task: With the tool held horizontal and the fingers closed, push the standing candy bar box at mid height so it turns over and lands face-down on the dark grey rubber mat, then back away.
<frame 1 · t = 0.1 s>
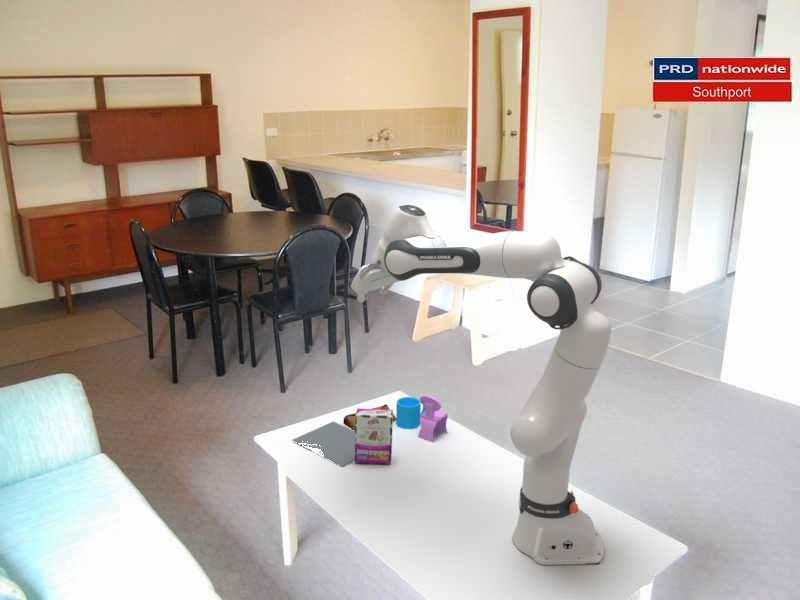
hand: (371, 296, 195), 54 cm above the table, tool tilted 30°, fingers open, 8 cm apart
candy bar box: (373, 460, 216), on the table, touching mat
mug: (412, 422, 241), on the table
sunglasses case: (371, 423, 242), on the table
toy chair: (432, 435, 233), on the table
mat: (337, 443, 226), on the table
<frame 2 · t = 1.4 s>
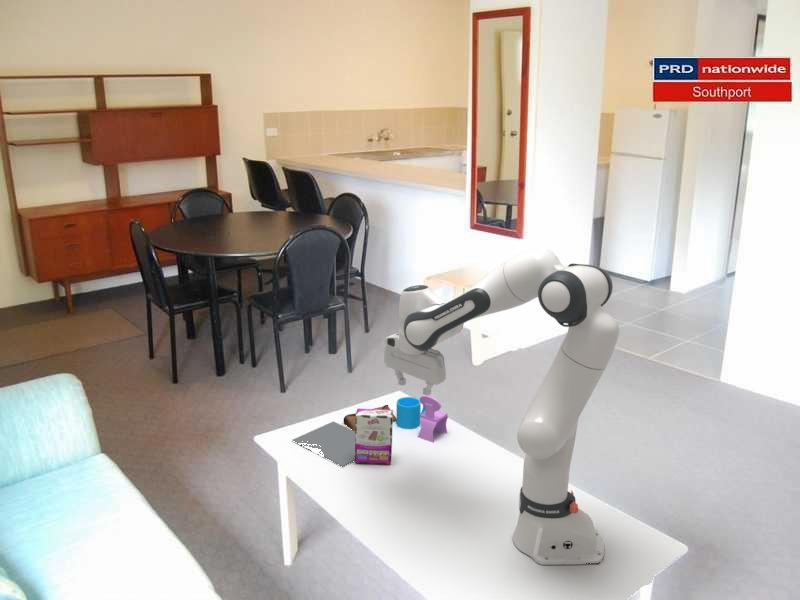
hand: (414, 389, 196), 29 cm above the table, tool pointing down, fingers open, 8 cm apart
nothing on the table moved.
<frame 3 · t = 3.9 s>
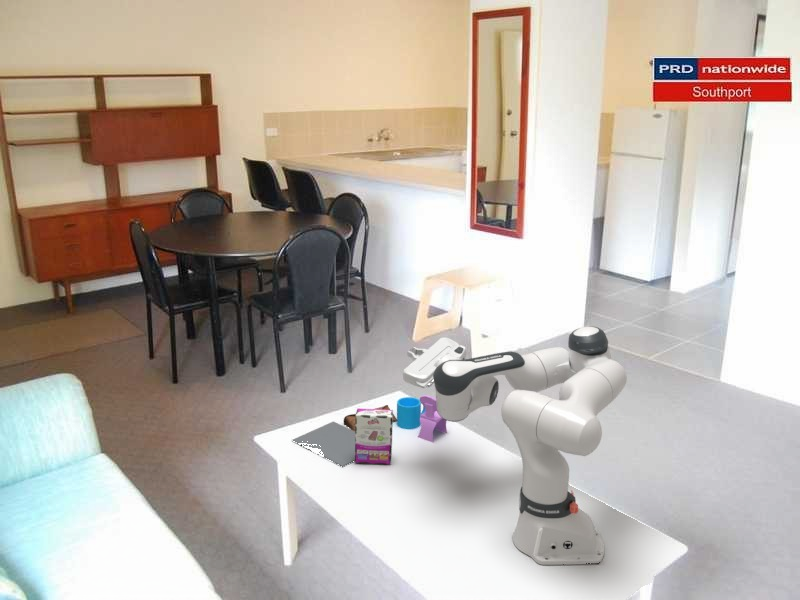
hand: (410, 351, 208), 35 cm above the table, tool horizontal, fingers closed
nothing on the table moved.
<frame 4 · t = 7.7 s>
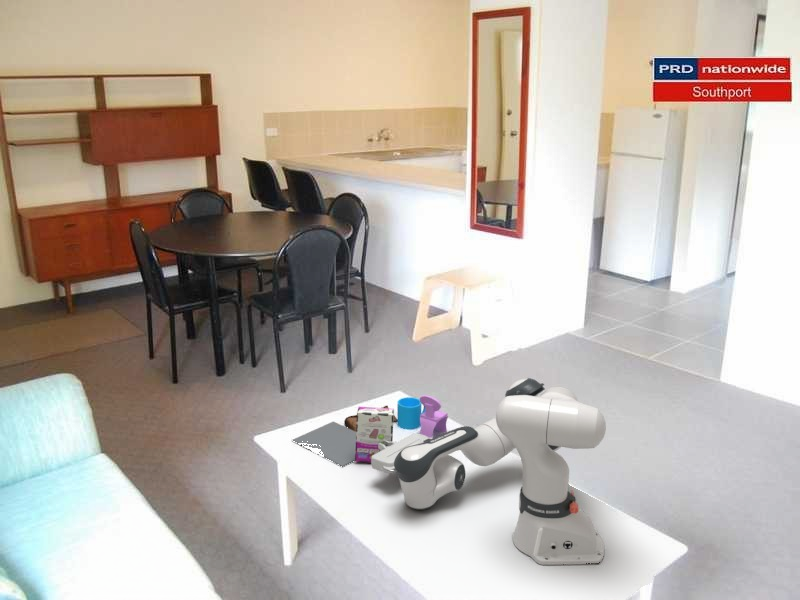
hand: (381, 444, 211), 8 cm above the table, tool horizontal, fingers closed
candy bar box: (373, 460, 216), on the table, touching gripper, mat
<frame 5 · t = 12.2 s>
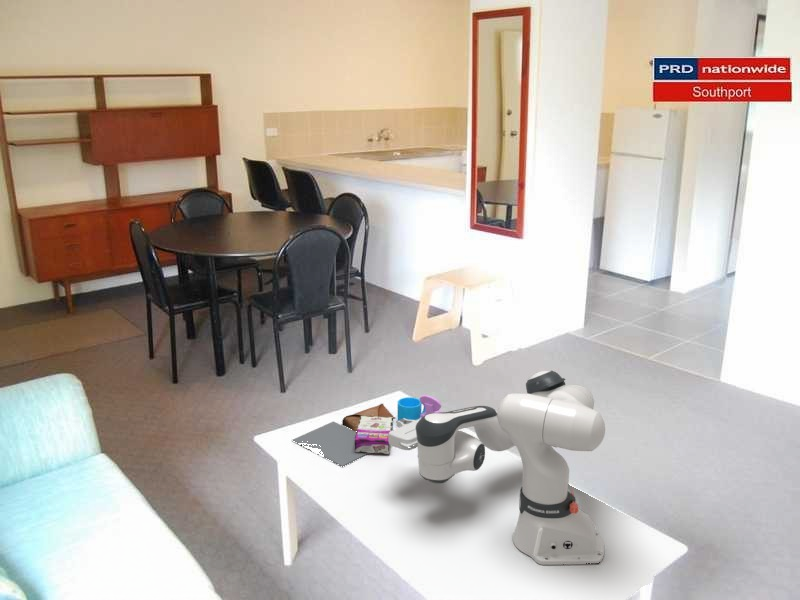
hand: (399, 422, 205), 17 cm above the table, tool horizontal, fingers closed
candy bar box: (371, 447, 218), point 3 cm above the table, touching mat
sunglasses case: (370, 423, 242), on the table
everything else where it was.
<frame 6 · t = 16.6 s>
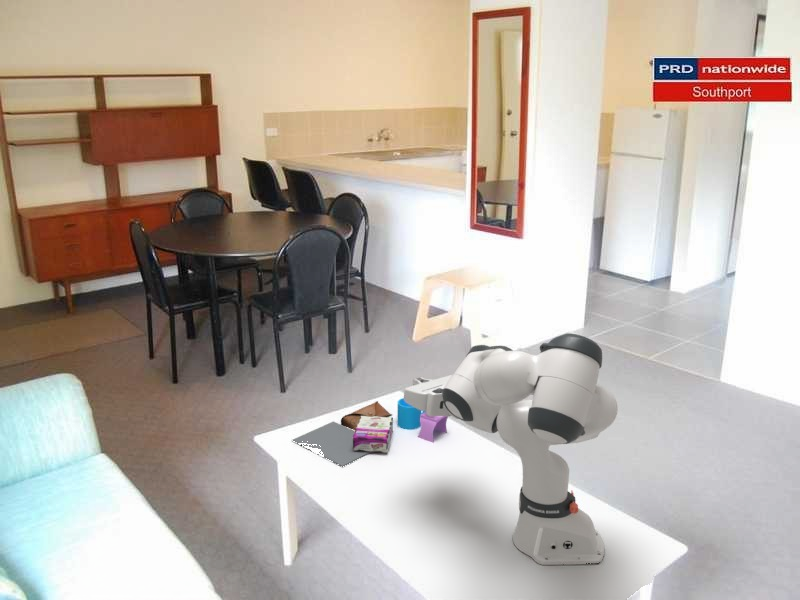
hand: (416, 380, 194), 32 cm above the table, tool horizontal, fingers closed
sunglasses case: (367, 421, 243), on the table
at the end: candy bar box tilted 90°; candy bar box 12.8 cm from the mat (horizontally); the gripper is holding nothing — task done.
